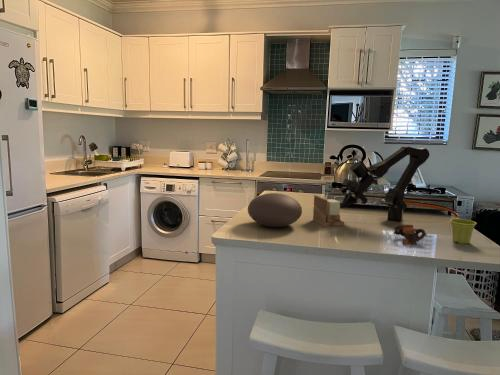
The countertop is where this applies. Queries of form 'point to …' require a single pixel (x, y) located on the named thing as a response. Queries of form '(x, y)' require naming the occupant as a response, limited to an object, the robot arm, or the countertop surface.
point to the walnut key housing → (324, 213)
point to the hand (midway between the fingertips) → (341, 207)
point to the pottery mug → (409, 234)
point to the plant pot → (462, 230)
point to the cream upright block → (332, 207)
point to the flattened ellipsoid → (274, 210)
